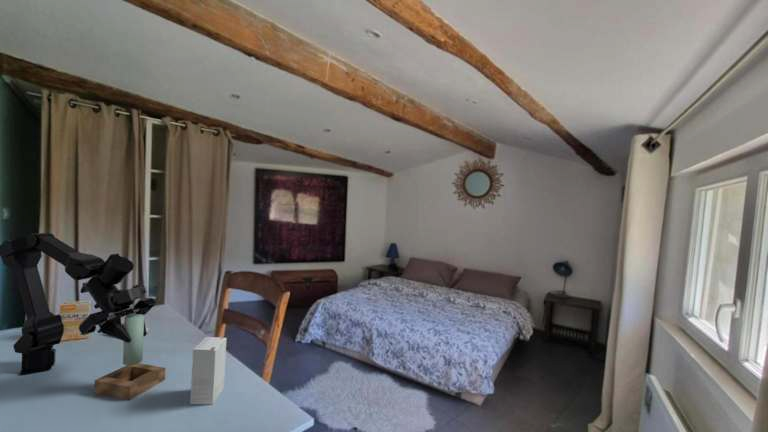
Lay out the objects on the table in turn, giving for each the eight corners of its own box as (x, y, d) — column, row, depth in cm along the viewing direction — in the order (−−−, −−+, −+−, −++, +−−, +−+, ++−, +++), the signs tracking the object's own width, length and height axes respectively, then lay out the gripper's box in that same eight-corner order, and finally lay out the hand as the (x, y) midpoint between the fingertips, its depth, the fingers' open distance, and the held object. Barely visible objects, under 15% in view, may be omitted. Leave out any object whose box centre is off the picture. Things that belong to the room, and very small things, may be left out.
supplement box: (57, 342, 122) (58, 305, 121) (60, 337, 126) (61, 301, 125) (88, 338, 126) (89, 302, 126) (90, 334, 130) (91, 299, 130)
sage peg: (119, 365, 94) (121, 319, 93) (127, 358, 98) (129, 314, 98) (138, 364, 95) (140, 319, 94) (145, 357, 99) (146, 314, 99)
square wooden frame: (94, 393, 92) (94, 380, 92) (132, 373, 103) (133, 362, 103) (129, 400, 90) (129, 386, 90) (164, 379, 101) (165, 367, 101)
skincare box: (202, 388, 97) (205, 336, 97) (225, 388, 98) (227, 336, 97) (189, 405, 89) (191, 348, 88) (213, 405, 89) (216, 348, 89)
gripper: (89, 283, 87) (124, 332, 86) (152, 270, 106) (182, 310, 104) (63, 310, 89) (97, 359, 87) (129, 293, 107) (158, 333, 106)
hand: (137, 338), depth 96 cm, fingers closed on sage peg, 4 cm apart
